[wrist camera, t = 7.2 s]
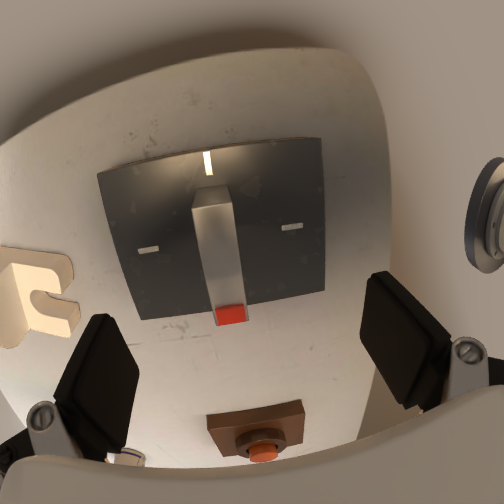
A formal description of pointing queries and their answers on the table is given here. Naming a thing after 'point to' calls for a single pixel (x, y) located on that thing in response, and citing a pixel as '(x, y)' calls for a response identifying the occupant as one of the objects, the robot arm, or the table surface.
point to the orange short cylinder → (262, 452)
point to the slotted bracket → (34, 295)
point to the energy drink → (130, 458)
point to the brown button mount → (258, 428)
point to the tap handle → (220, 254)
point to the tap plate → (245, 215)
